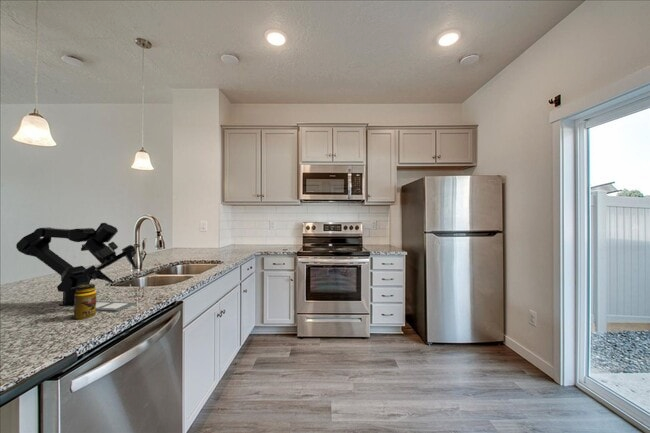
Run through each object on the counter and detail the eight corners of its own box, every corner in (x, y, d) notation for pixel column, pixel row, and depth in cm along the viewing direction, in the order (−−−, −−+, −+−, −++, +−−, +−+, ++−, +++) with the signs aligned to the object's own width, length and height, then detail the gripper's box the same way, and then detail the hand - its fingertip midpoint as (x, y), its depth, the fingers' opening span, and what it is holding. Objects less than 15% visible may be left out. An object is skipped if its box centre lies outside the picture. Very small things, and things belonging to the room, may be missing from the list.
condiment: (94, 318, 95) (95, 286, 95) (63, 323, 90) (63, 289, 90) (98, 312, 101) (99, 281, 101) (69, 316, 96) (69, 284, 96)
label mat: (74, 310, 102) (74, 308, 102) (95, 302, 111) (95, 300, 111) (117, 311, 102) (117, 309, 102) (135, 304, 111) (135, 302, 111)
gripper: (68, 255, 97) (96, 283, 96) (120, 229, 110) (145, 254, 109) (75, 267, 105) (101, 293, 104) (123, 241, 118) (147, 264, 117)
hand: (124, 275), depth 108 cm, fingers open, 9 cm apart
